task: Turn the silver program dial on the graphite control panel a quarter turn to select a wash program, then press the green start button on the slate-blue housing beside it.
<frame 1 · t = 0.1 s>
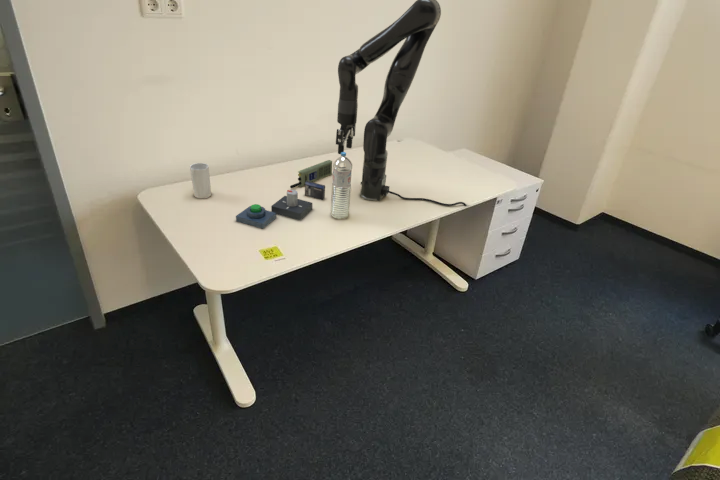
hand: (344, 150, 173), 17 cm above the table, tool pointing down, fingers open, 8 cm apart
dial panel: (292, 211, 162), on the table
mini dv tape: (314, 197, 174), on the table
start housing: (256, 219, 154), on the table
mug: (200, 194, 168), on the table
program dial: (292, 197, 159), point 6 cm above the table, hinge at 0.0°
water bottle: (339, 215, 162), on the table
start button: (255, 208, 152), point 5 cm above the table, slide at 0.2 cm
handheld radio: (311, 181, 186), on the table
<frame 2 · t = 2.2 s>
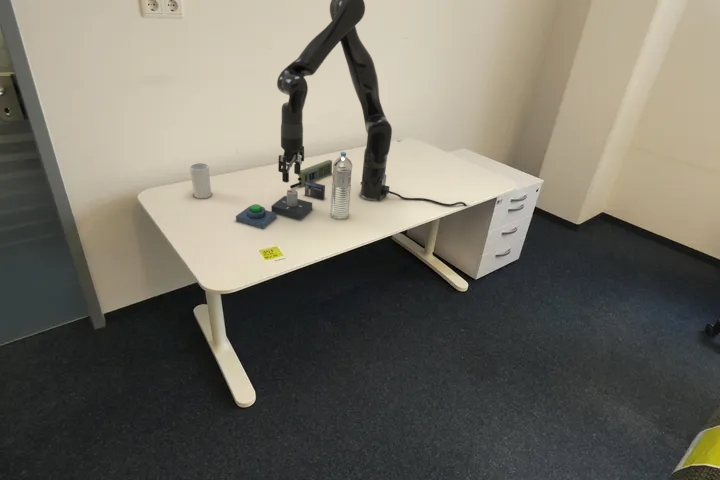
hand: (291, 177, 155), 14 cm above the table, tool pointing down, fingers open, 8 cm apart
nothing on the table moved.
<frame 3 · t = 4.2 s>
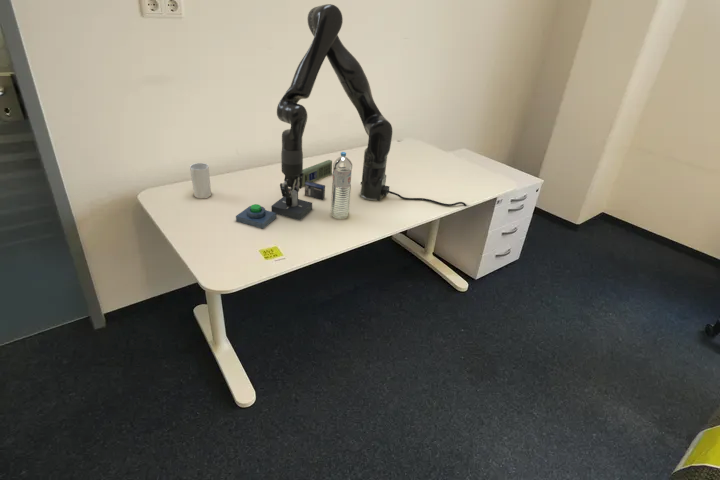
hand: (292, 202, 160), 4 cm above the table, tool pointing down, fingers closed on program dial, 4 cm apart
program dial: (292, 197, 159), point 6 cm above the table, hinge at 0.0°, touching gripper
everything else where it was.
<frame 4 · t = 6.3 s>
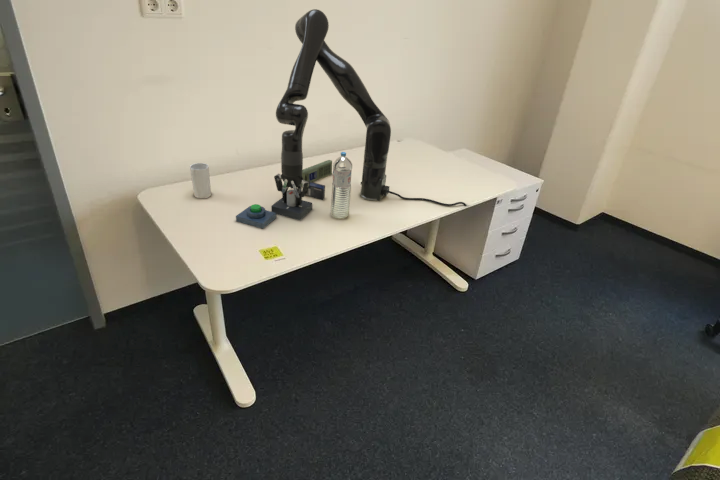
hand: (292, 203, 160), 3 cm above the table, tool pointing down, fingers open, 4 cm apart
program dial: (292, 197, 159), point 6 cm above the table, hinge at 93.7°
everything else where it was.
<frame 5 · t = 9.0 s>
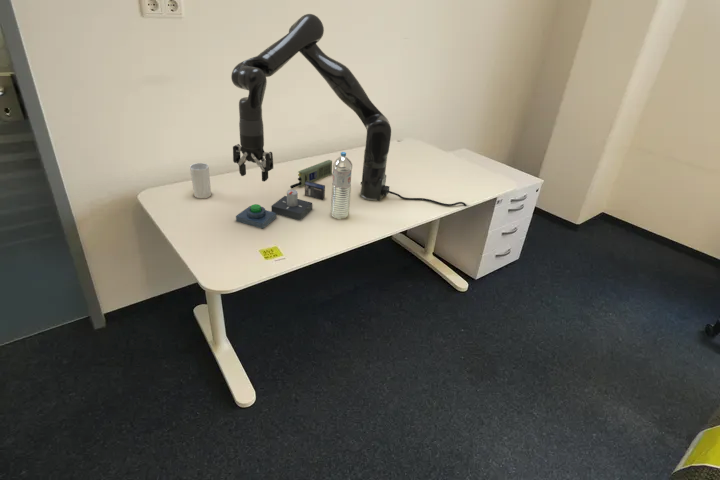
hand: (253, 177, 146), 16 cm above the table, tool pointing down, fingers open, 8 cm apart
nothing on the table moved.
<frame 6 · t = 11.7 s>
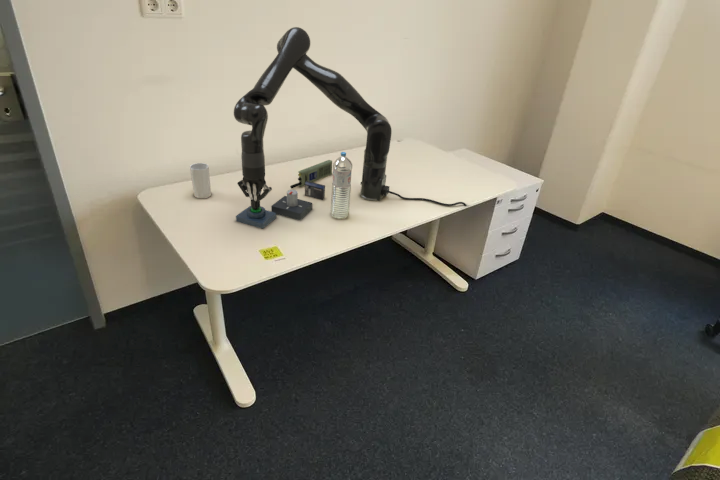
hand: (255, 208, 152), 5 cm above the table, tool pointing down, fingers closed
start button: (256, 210, 152), point 4 cm above the table, slide at -0.7 cm, touching gripper
everything else where it was.
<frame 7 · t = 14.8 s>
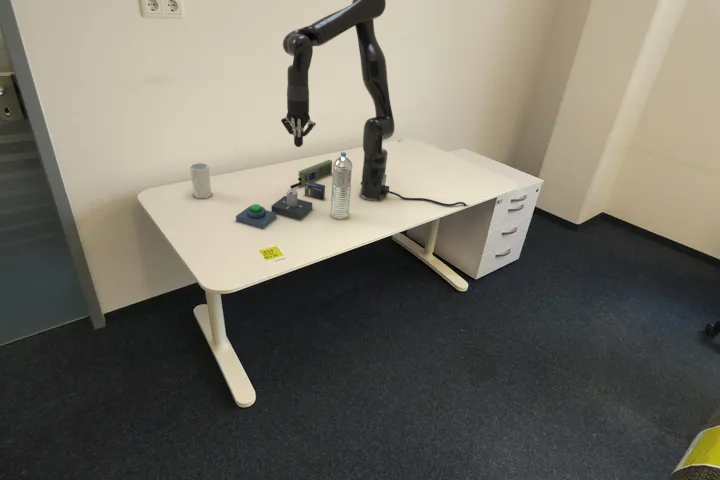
hand: (298, 146, 156), 23 cm above the table, tool pointing down, fingers closed
start button: (255, 208, 152), point 5 cm above the table, slide at 0.2 cm
everything else where it was.
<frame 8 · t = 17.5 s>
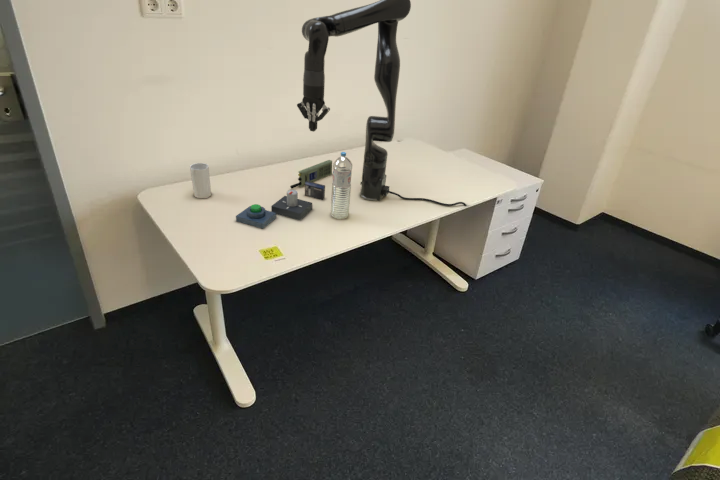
hand: (312, 130, 160), 27 cm above the table, tool pointing down, fingers closed
nothing on the table moved.
at the end: program dial at +94° (first picture: +0°); start button pushed in 0.9 cm at the most during the clip, back to 0.2 cm at the end; start button slide at 0.2 cm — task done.
